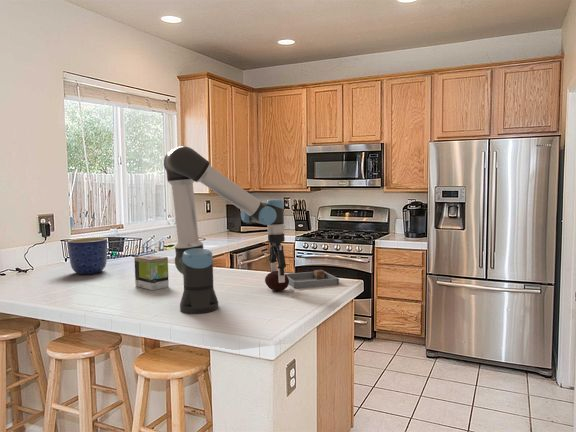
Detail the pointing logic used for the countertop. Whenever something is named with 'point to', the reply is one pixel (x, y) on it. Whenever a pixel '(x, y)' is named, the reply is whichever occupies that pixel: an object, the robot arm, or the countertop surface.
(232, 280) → the countertop surface
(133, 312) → the countertop surface
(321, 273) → the walnut block
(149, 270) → the tea box
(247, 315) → the countertop surface
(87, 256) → the planter
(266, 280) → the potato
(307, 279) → the tray
